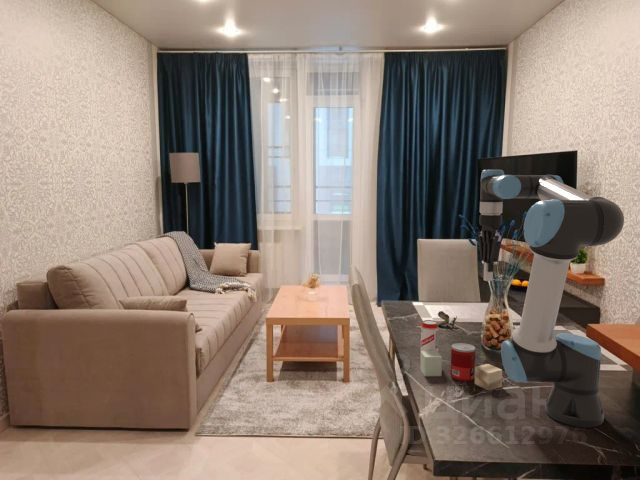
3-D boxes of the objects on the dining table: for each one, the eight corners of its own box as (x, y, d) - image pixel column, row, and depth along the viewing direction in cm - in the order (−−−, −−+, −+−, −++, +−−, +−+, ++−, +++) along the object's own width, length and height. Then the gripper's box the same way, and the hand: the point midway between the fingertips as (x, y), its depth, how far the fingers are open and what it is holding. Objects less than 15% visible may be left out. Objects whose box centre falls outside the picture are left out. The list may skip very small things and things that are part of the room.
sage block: (441, 376, 170) (442, 356, 169) (424, 376, 170) (424, 357, 169) (436, 369, 176) (437, 350, 175) (420, 369, 176) (420, 351, 175)
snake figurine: (456, 322, 230) (437, 316, 234) (457, 312, 226) (438, 306, 229) (451, 334, 225) (432, 328, 229) (453, 324, 221) (433, 318, 224)
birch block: (501, 387, 161) (502, 369, 160) (488, 390, 158) (489, 373, 157) (487, 380, 166) (488, 363, 165) (474, 384, 163) (475, 366, 163)
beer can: (434, 368, 177) (435, 325, 175) (417, 364, 180) (418, 322, 178) (439, 362, 182) (441, 321, 180) (423, 359, 185) (424, 318, 183)
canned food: (475, 382, 164) (476, 351, 163) (451, 380, 166) (452, 349, 165) (473, 373, 172) (474, 343, 170) (449, 372, 173) (450, 342, 172)
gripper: (511, 215, 165) (508, 283, 168) (490, 212, 177) (487, 276, 180) (491, 215, 163) (488, 284, 166) (471, 213, 176) (469, 277, 179)
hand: (488, 280), depth 173 cm, fingers closed
